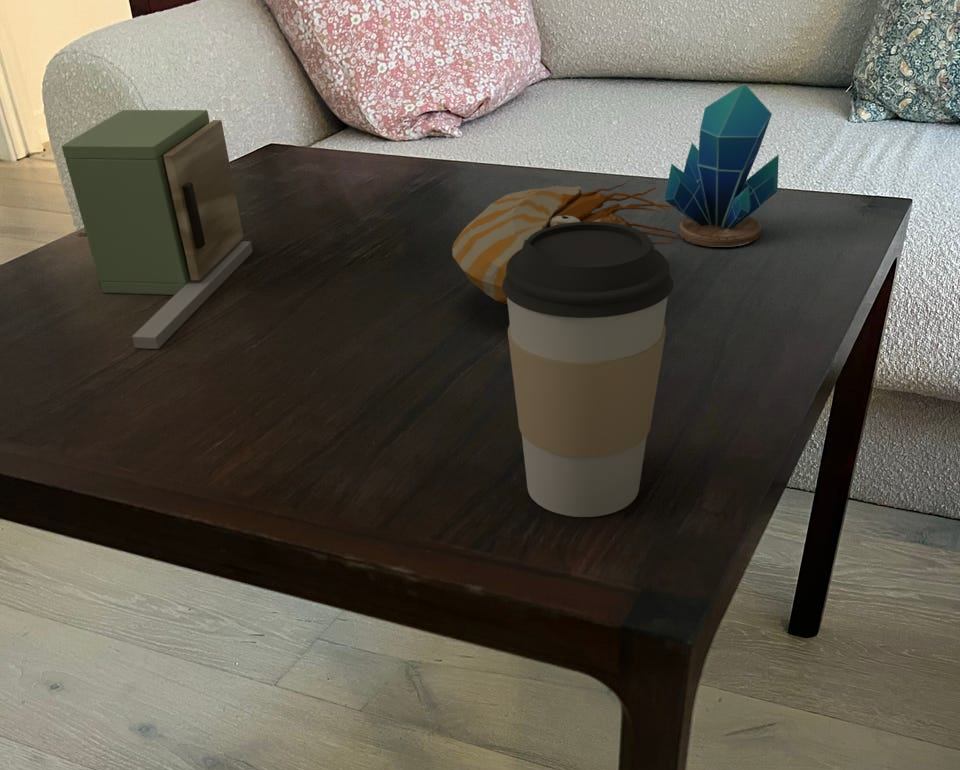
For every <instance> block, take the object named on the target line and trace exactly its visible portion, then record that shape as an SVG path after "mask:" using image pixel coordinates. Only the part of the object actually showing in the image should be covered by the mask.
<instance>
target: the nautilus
mask: <svg viewBox="0 0 960 770" xmlns="http://www.w3.org/2000/svg"><path fill="white" fill-rule="evenodd" d="M630 181H631V180H629V179H628V180H626V181H624V182H622V184H618V185H616V186H613V187H610V188H599V189H596V190H591V191H586V192H582V189H581V186H560V185H553V186H550V187H546V188H531V189H526V190H520V191H516V192H511V193H507V194H505V195H503V196H502V197H500V198H499V199H497V200H495V201H493V202H491V203H490V204H489V205H488V206H487V207H486V208H485V209H484V210H483V211H482V212H481V213H480V214H478V216H476V217H475V218H473V220H471V221H470V222H469V223H468V224H467V225H466V226H465V227H464V228H463V229H462V230H461V232H460V233H459V234H458V236H457V238H456V239H455V241H454V242H453V245H452V247H451V251H452V257H453V259H454V260H455V261H456V263H457V265H459V267H460V268H461V270H462V271H463V272H464V274H465V276H466V277H467V278H468V280H469V281H470V282H471V283H472V284H473V285H475V286H476V287H477V288H478V289H479V290H481V291H482V292H483V293H484V294H485V295H486V296H488V297H490V298H492V299H493V300H495V301H497V302H499V303H502V304H504V305H507V306H508V302H507V297H506V296H505V294H504V292H503V290H502V283H503V280H504V279H505V277H506V266H507V263H508V261H509V260H510V258H511V257H512V256H513V255H514V254H515V253H516V252H517V251H519V250H520V249H522V247H523V244H524V241H525V239H526V240H527V239H528V238H529V237H530V236H531V235H532V234H534V233H535V232H537V231H539V230H542V229H544V228H547V227H550V226H554V225H559V224H564V223H572V222H608V223H615V224H620V225H625V226H629V227H632V228H633V227H638V228H643V229H649V230H655V231H662V232H667V233H673V234H677V232H676V231H674V230H670V229H667V228H661V227H656V226H650V225H645V224H641V223H635V222H630V223H629V222H628V221H626V220H625V219H624V218H623V217H622V216H619V215H617V214H616V213H617V212H619V211H625V210H645V211H652V212H657V213H660V214H661V213H662V212H661V211H660V210H658V209H655V208H653V209H652V208H648V207H657V208H660V209H662V210H664V211H665V212H667V213H669V211H668V209H666V208H672V209H675V210H677V208H676V207H674V206H672V205H670V204H662V203H656V202H654V201H651V200H649V199H646V198H643V197H640V196H644V195H646V194H648V193H650V192H651V191H654V190H656V189H657V188H656V187H653V188H650V189H648V190H646V191H644V192H640V193H639V192H638V193H633V194H629V193H626V192H612V193H609V194H605V193H600V192H602V191H605V192H606V191H607V192H609V191H612V190H615V189H617V188H619V187H623V186H624V185H625V184H627V183H628V182H630ZM616 196H618V197H619V196H620V198H617V197H616ZM628 199H634V200H638V201H640V202H641V201H642V202H646V203H630V204H628V205H624V206H622V205H620V203H615V204H612V205H609V206H607V207H605V208H603V209H601V208H602V207H603V206H604V204H605V203H607V202H613V201H615V202H622V201H626V200H628ZM598 209H600V210H598ZM596 210H598V211H596ZM594 211H595V212H594ZM638 230H639V229H638ZM639 231H641V232H643V233H645V234H646V235H647V236H655V237H661V238H668V239H669V238H670V239H675V240H682V237H678V236H675V235H669V234H663V233H658V232H657V233H656V232H652V231H651V232H650V231H645V230H639ZM677 243H678V242H670V241H652V244H653V245H677Z"/></svg>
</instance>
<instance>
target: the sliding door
mask: <svg viewBox="0 0 960 770" xmlns="http://www.w3.org/2000/svg"><path fill="white" fill-rule="evenodd" d="M163 157H164V161H165V166H166V170H167V175H168V179H169V184H170V188H171V192H172V197H173V201H174V206H175V210H176V215H177V219H178V224H179V228H180V232H181V237H182V241H183V246H184V250H185V255H186V259H187V264H188V268H189V272H190V277H191V280H200V279H201V278H202V277H203V276H205V275H206V274H207V273H208V272H209V271H210V270H211V269H212V268H213V267H214V266H215V265H216V264H217V263H218V262H219V261H220V260H221V259H222V258H223V257H224V256H225V255H226V254H227V253H228V252H229V251H230V250H231V249H232V248H233V247H234V246H235V245H236V244H237V243H238V242H239V241H242V240H243V238H244V232H243V227H242V223H241V217H240V212H239V206H238V201H237V196H236V190H235V185H234V180H233V174H232V169H231V164H230V159H229V154H228V148H227V142H226V137H225V132H224V126H223V121H222V120H221V119H213V120H211V121H209V123H208V124H207V125H206V126H204V127H203V128H201V129H200V130H198V131H197V132H196V133H194V134H193V135H191V136H190V137H189V138H187V139H186V140H184V141H183V142H181V143H180V144H179V145H177V146H176V147H174V148H173V149H171V150H170V151H169V152H167V153H166V154H164V155H163Z"/></svg>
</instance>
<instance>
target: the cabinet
mask: <svg viewBox="0 0 960 770" xmlns="http://www.w3.org/2000/svg"><path fill="white" fill-rule="evenodd" d="M208 123H210V116H209V112H208V110H207V109H122V110H120V111H118V112H117V113H115V114H113V115H112V116H110V117H108V118H107V119H105V120H103V121H101V122H100V123H98V124H97V125H95V126H93V127H91V128H90V129H88V130H86V131H84V132H83V133H81V134H78V136H76V137H74V138H73V139H71V140H69V141H67V142H65V143H64V144H62V145H61V149H62V153H63V156H64V160H65V163H66V164H65V165H66V168H67V169H68V170H67V171H68V174H69V178H70V181H71V185H72V189H73V191H74V195H75V200H76V203H77V206H78V210H79V214H80V216H81V220H82V224H83V228H84V231H85V235H86V238H87V242H88V245H89V248H90V249H89V250H90V252H91V257H92V260H93V263H94V266H95V270H96V273H97V277H98V280H99V284H100V289H101V290H102V291H101V292H102V293H103V294H104V293H106V294H130V295H131V294H133V295H134V294H136V295H137V294H138V295H162V296H163V295H166V296H172V297H171V298H170V299H169V300H168V301H167V302H166V303H165V304H164V305H163V306H162V307H161V308H159V310H157V311H156V312H155V314H153V315H152V316H151V317H150V318H149V319H148V320H147V321H146V322H145V323H144V324H143V325H142V326H141V327H140V328H139V329H138V330H137V331H136V332H135V333H134V334H132V336H131V339H132V342H133V346H134V349H143V350H144V349H145V350H146V349H147V350H159V349H160V348H161V347H162V346H163V345H164V344H165V343H167V341H168V340H169V339H170V338H171V337H172V336H173V335H174V334H175V333H176V332H177V331H178V329H180V328H181V327H182V326H183V324H184V323H185V322H186V321H187V320H188V319H189V318H191V316H192V315H193V314H195V312H196V311H197V310H198V309H199V308H200V307H201V306H202V305H203V304H204V303H205V302H206V301H207V300H208V299H209V298H210V297H211V296H212V295H213V294H214V292H216V290H218V288H219V287H220V286H221V285H222V284H223V283H225V282H226V280H227V279H228V278H229V277H230V276H231V275H233V273H234V272H235V271H236V270H237V269H238V268H239V267H240V266H241V265H242V264H243V263H244V262H245V261H246V260H247V259H248V258H249V257H250V256H251V254H253V252H254V250H253V245H252V242H251V241H248V240H247V241H245V240H244V241H243V240H240V241H239V242H238V243H237V244H236V245H235V246H234V247H233V248H232V249H231V250H230V251H229V252H228V253H227V254H226V255H225V256H224V257H223V258H222V259H221V260H220V261H219V262H218V263H217V264H216V265H215V266H214V267H213V268H212V269H211V270H210V271H209V272H208V273H207V274H206V275H205V276H203V277H202V278H201V279H200V280H191V277H190V272H189V268H188V264H187V259H186V255H185V250H184V246H183V241H182V237H181V232H180V228H179V224H178V219H177V215H176V210H175V206H174V201H173V197H172V192H171V188H170V184H169V179H168V175H167V170H166V166H165V161H164V157H163V155H164V154H166V153H167V152H169V151H170V150H171V149H173V148H174V147H176V146H177V145H179V144H180V143H181V142H183V141H184V140H186V139H187V138H189V137H190V136H191V135H193V134H194V133H196V132H197V131H198V130H200V129H201V128H203V127H204V126H206V125H207V124H208Z"/></svg>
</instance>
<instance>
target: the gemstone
mask: <svg viewBox="0 0 960 770" xmlns="http://www.w3.org/2000/svg"><path fill="white" fill-rule="evenodd" d="M772 115H773V113H772V112H771V111H770V110H769V109H768V108H767V106H766V105H765V104H764V103H763V102H762V101H761V100H760V99H759V98H758V97H757V95H756V94H755V93H754V92H753V91H752V90H751V89H750V88H749V87H748V86H747V84H746V83H742V84H741V85H739V86H738V87H736V88H735V89H732V90H731V91H729V92H728V93H727V94H724V95H723V96H722V97H720V98H718V99H717V100H715V101H714V102H712V103H711V104H709V105H707V106H706V107H704V110H703V114H702V120H701V123H700V128H699V140H698V141H699V142H698V148H697V147H696V145H695V144H694V142H691V145H690V149H689V151H688V154H687V158H686V161H685V165H684V169H683V171H682V169H679V167H677V166H676V165H674V164H673V163H671V165H670V170H669V175H668V180H667V185H666V190H665V195H664V200H663V201H665V202H666V203H668V205H669V206H674V207H676V208H677V209H676V210H677V211H679V212H680V213H681V214H682V215H684V216H685V217H686V218H684V219H683V220H682V221H681V222H680V223H679V229H678V233H679V236H680V238H681V239H683V238H684V239H685V240H687V241H689V242H692V243H695V244H698V245H704V246H715V247H716V246H721V247H722V246H732V245H733V246H734V245H739V244H744V243H747V242H751V241H753V240H755V239H756V238H757V239H758V238H759V237H760V236H759V235H761V230H762V229H761V228H762V225H761V224H760V222H759V221H758V220H757V219H755V218H754V217H752V216H751V215H752V214H753V213H755V212H756V211H757V210H758V209H760V208H761V207H762V206H763V204H765V202H766V201H768V200H769V199H770V198H772V197H773V196H774V195H776V194H777V193H778V189H779V188H778V186H779V185H778V184H779V161H780V159H779V157H780V156H779V155H780V154H777V155H776V156H774V157H773V158H772V159H771V160H769V161H768V162H767V163H766V164H764V165H762V167H761V168H759V169H758V170H757V171H756V172H755V173H753V174H752V175H750V177H749V174H750V173H751V170H752V167H753V165H754V164H755V161H756V159H757V156H758V154H759V152H760V149H761V146H762V143H763V140H764V137H765V135H766V132H767V130H768V127H769V123H770V121H771V118H772ZM758 236H759V237H758ZM684 239H683V240H684ZM757 239H756V240H757ZM685 240H684V241H685ZM756 240H755V241H756ZM687 241H686V242H687ZM689 242H688V243H689Z"/></svg>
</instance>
